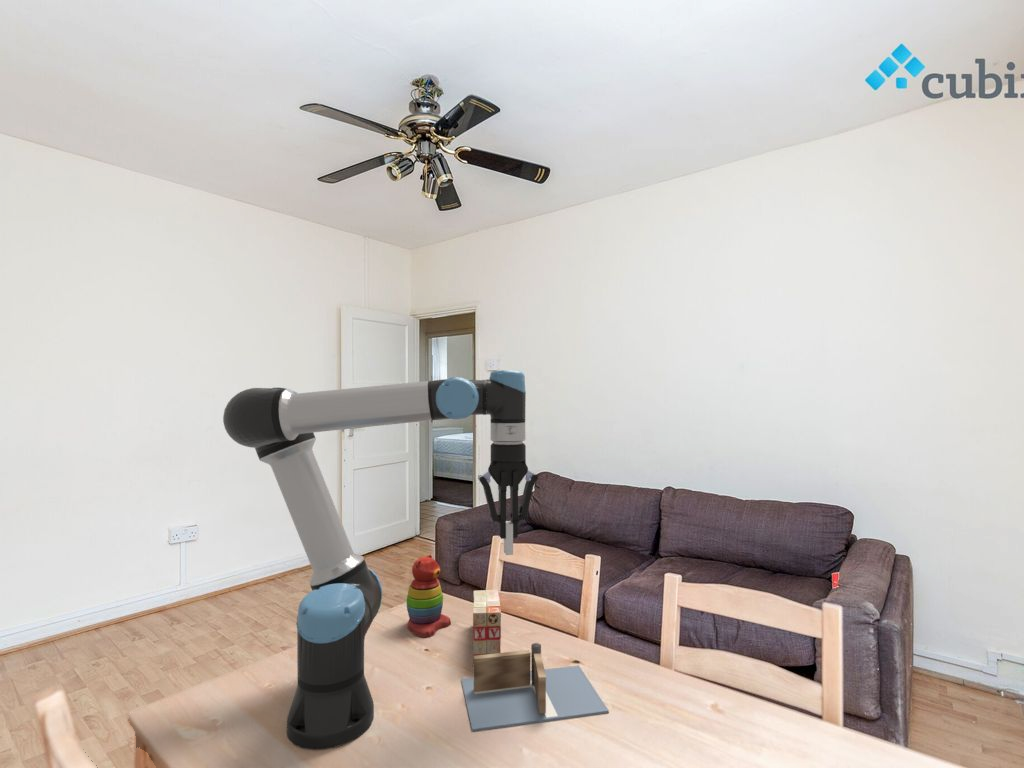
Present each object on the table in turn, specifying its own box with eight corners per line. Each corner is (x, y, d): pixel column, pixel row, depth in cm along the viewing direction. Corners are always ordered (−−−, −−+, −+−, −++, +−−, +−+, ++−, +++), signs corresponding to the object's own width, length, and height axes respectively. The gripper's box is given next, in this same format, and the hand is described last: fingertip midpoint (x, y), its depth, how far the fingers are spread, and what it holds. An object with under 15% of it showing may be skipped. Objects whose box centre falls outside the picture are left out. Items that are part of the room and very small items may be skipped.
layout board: (472, 731, 95) (472, 728, 95) (461, 680, 111) (461, 678, 111) (608, 712, 100) (608, 710, 100) (578, 667, 117) (578, 665, 117)
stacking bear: (427, 639, 130) (427, 566, 130) (396, 630, 135) (396, 560, 136) (454, 623, 139) (454, 555, 140) (424, 614, 145) (424, 549, 145)
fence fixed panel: (474, 693, 106) (474, 654, 106) (473, 688, 108) (473, 649, 108) (542, 685, 109) (542, 647, 109) (539, 680, 111) (539, 642, 111)
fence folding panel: (533, 686, 107) (533, 653, 108) (540, 686, 108) (540, 653, 108) (538, 713, 98) (538, 677, 99) (546, 712, 99) (546, 677, 99)
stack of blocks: (473, 625, 138) (473, 578, 138) (497, 625, 138) (497, 577, 139) (472, 668, 117) (472, 612, 117) (501, 667, 117) (501, 611, 117)
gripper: (480, 444, 108) (480, 560, 108) (542, 443, 111) (542, 556, 110) (475, 441, 116) (475, 550, 115) (533, 440, 118) (533, 546, 118)
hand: (508, 553), depth 113 cm, fingers closed
